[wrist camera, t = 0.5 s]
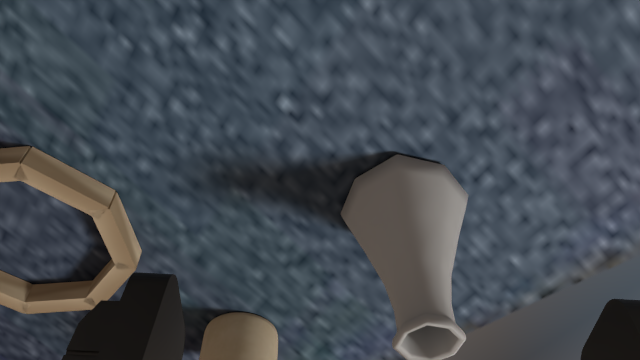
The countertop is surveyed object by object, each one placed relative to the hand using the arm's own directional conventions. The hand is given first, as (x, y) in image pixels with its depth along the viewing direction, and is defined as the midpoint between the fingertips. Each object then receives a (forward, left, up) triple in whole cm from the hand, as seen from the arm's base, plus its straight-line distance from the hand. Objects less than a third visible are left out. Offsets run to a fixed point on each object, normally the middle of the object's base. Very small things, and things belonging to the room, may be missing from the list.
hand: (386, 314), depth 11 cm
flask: (+14, +3, -19) cm, 24 cm away
